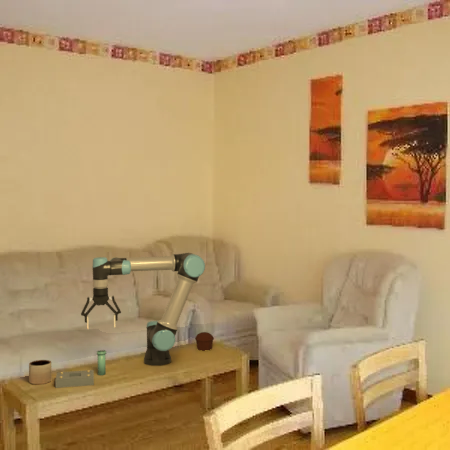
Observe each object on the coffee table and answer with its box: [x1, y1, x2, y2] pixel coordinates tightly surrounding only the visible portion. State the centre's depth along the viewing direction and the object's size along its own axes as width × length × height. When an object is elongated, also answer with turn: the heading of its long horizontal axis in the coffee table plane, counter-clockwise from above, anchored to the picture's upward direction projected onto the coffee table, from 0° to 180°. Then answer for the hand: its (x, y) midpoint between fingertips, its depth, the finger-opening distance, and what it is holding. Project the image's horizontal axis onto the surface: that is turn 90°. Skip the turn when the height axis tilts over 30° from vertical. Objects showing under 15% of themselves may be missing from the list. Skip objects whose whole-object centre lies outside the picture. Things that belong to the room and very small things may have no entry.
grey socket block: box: [55, 369, 95, 389], centre depth 286 cm, size 18×12×5 cm, turn 103°
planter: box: [28, 359, 53, 385], centre depth 288 cm, size 11×11×10 cm
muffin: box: [194, 331, 215, 352], centre depth 350 cm, size 12×11×10 cm
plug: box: [96, 349, 107, 376], centre depth 299 cm, size 5×5×12 cm
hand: (101, 327), depth 299 cm, fingers open, 13 cm apart
